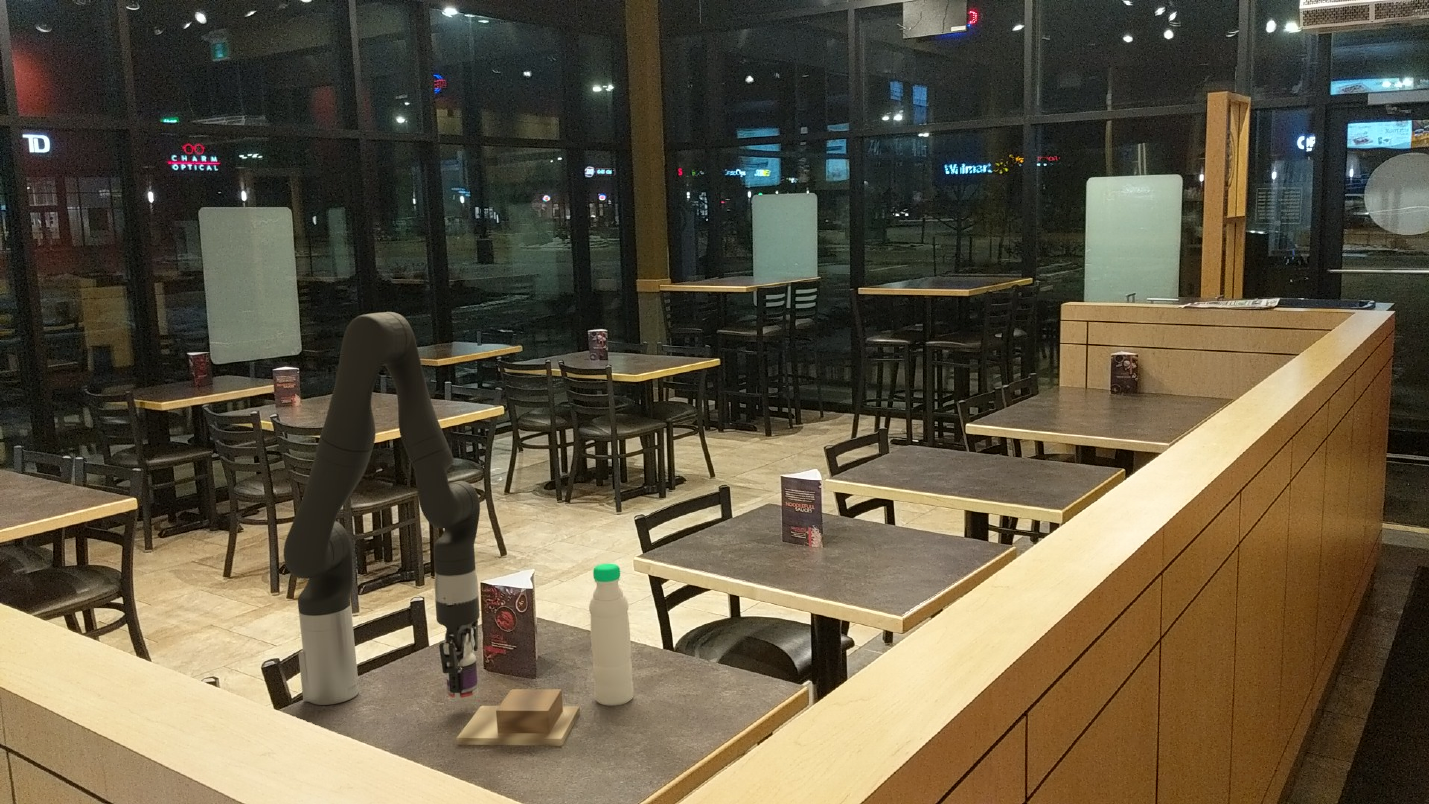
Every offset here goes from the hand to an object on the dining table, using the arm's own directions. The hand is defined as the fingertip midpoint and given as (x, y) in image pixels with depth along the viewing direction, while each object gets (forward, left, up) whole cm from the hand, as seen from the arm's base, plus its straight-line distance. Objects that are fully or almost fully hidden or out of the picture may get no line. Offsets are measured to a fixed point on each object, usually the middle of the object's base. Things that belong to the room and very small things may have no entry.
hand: (462, 684), depth 207 cm
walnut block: (+15, -8, -3) cm, 17 cm away
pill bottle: (0, 0, -2) cm, 2 cm away
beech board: (+13, -8, -5) cm, 15 cm away
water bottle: (+27, +5, -5) cm, 27 cm away
